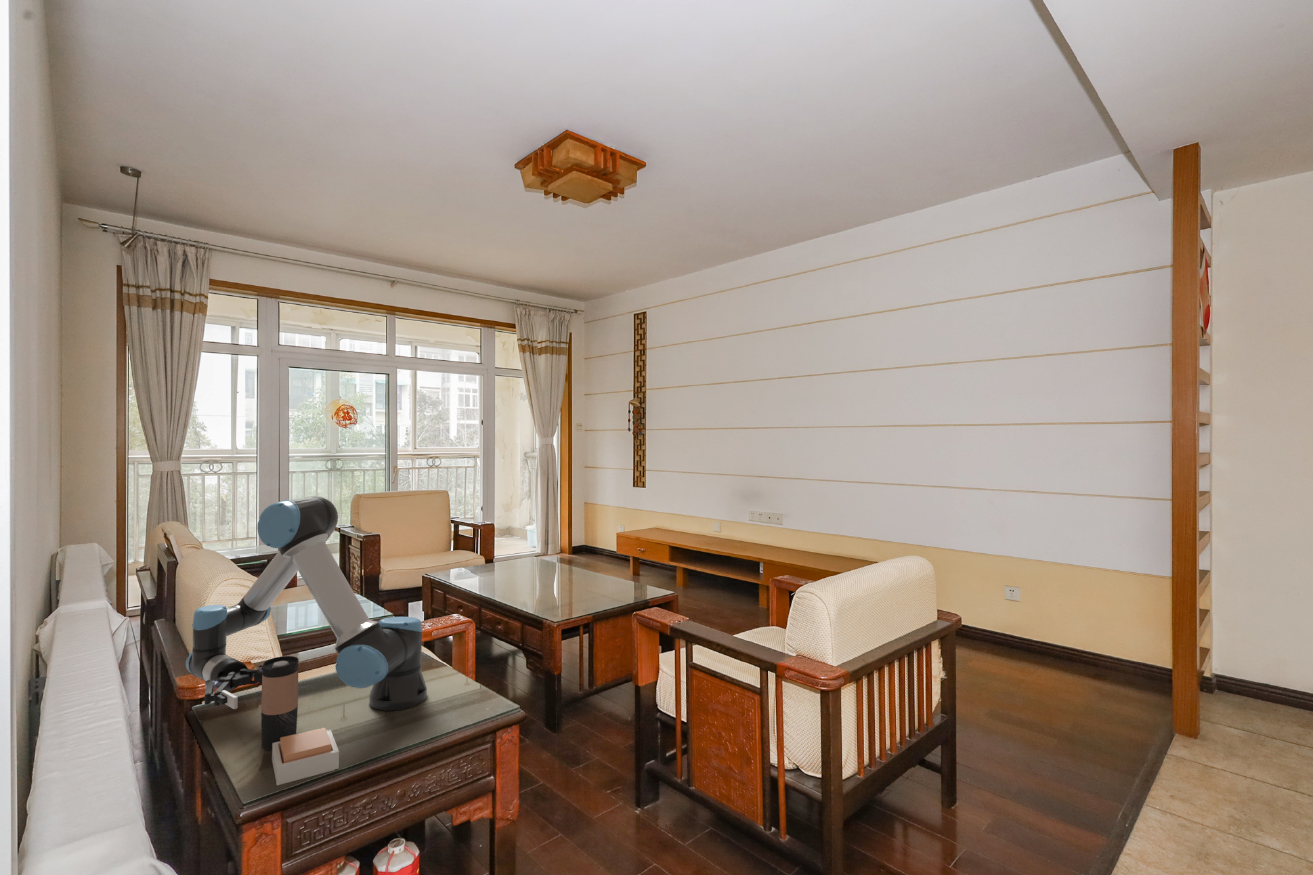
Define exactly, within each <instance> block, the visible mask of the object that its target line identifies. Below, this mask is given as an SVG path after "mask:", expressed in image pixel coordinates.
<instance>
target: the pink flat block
mask: <svg viewBox="0 0 1313 875" xmlns="http://www.w3.org/2000/svg"><path fill="white" fill-rule="evenodd" d="M327 752H331V742H330V739H329V736H328V734H327V729H326V727H321V728H317V729H312V730H309V731H303V732H300V733H296V734H294V735H290V736H285V737H281V738H280V753H281V758H282V762H283V763H287V762H291V761H295V760H299V759H303V758H307V757H311V756H315V755H319V754H323V753H327Z"/></svg>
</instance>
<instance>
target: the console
mask: <svg viewBox="0 0 1313 875" xmlns="http://www.w3.org/2000/svg"><path fill="white" fill-rule="evenodd" d="M326 731H327V734H328V736H329V739H330V742H331V752H327V753H323V754H319V755H315V756H311V757H307V758H303V759H299V760H295V761H291V762H287V763H283V762H282V758H281V753H280V742H275V743H272V750H271V762H272V768H273V772H274V778H275V783H276V784H275V785H276V786H281V785H284V784H288V783H292V782H295V781H298V780H299V781H300V780H303V779H307V778H310V777H313V776H317V775H321V774H325V773H328V772H333V771H336V770H335V769H337V770H339V769H340V768H339V766H340V764H339V763H340V759H339V758H340V751H339V748H338V745H337V743H336V741H335V737H334V736H333V733H332V730H331V729H326Z"/></svg>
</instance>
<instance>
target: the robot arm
mask: <svg viewBox="0 0 1313 875" xmlns="http://www.w3.org/2000/svg"><path fill="white" fill-rule="evenodd" d="M338 522H339V513H338V510H337V508H336V506H335V505H334V503H333V502H332V501H331V500H329V499H327V498H325V497H322V496H317V495H315V496H307V497H302V498H301V497H300V498H294V499H283V500H281V501H279V502H277V501H276V502H273V503H271V504H269V505H268V506H266V508H265V509H264V510H263V511H262V512H261V514H260V515H259V520H258V522H257V527H256V529H257V534H258V537H259V539H260V541H261V542H262V543H263V545H265V546H266V547H270V548H273V549H277V550H278V552H277V553H276V554H275V556H274V557H273V558H272V560H271V561H270V562H269V563H268V565H267V566H266V567H265V569H264V570H263V572H262V573H261V574H260V575H259V576H258V577H257V579H256V580H255V581H254V583H253V584H252V586H251V587H250V588H249V589H248V591H247V592H246V593H245V594H244V596H243V597H242V598H241V600H239V602H238V603H237V604H235V605H231V606H229V607H227V606H225V605H223V604H210V605H209V604H208V605H205V606H200V607H198V608H197V609H196V610H194V611H193V612H194V613H193V619H192V624H191V626H192V650H191V652H190V653H189V654H188V656H187V658H186V660H185V668H186V670H187V671H188V672H189V673H190V674H191V675H192V676H193V677H194V678H199V679H200V680H203V681H205V684H204V685H205V686H204V687H205V689H204V690H205V691H204V705H207V706H208V705H210V704H211V703H212V702H213V703H214V704H213V706H216V707H217V706H220V705H225V706H227V707H229V708H231V709H233V710H236V709H238V704H239V703H238V700H239V698H238V696H237V695H235V694H233V693H231V692H232V691H233V690H235V689H237V688H239V687H240V686H246V685H257V684H258V683H262V673H263V664H260V665H258V668H257V669H252V668H248V667H247V665H246V664H245V663H244V662H242V661H240V660H238V659H236V658H234V657H232V656H230V655H228V654H226V652H227V637H229V636H232V635H233V634H236V633H239V632H241V631H243V630H246V629H248V628H251V627H254V626H258V625H259V624H261V623H263V622H265V621H267V619H268V618H269V617H270V616H271V611H272V608H271V606H272V605H273V603H274V602H275V601H276V600H277V598H278V597H279V596H280V594H281V593H282V592H283V590H284V589H285V588H286V587H287V585H288V584H289V583H290V582H291V580H292V579H293V578H294V576H295V575H296V574H297V573H298V572H299V575H300V577H301V578H302V580H303V581H304V583H305V585H306V586H307V588H308V590H309V591H310V594H311V595H312V597H313V599H314V600H315V602H316V603H317V606H318V607H319V609H320V612H321V613H322V615H323V616H324V618H325V620H326V621H327V623H328V625H329V627H330V628H331V630H332V633H334V635H335V637H336V643H335V645H334V649H335V651H336V653H337V656H336V659H335V662H336V663H335V671H336V674H337V676H338V678H339V679H340V681H341V682H343V683H344V684H345V685H347V686H348V687H351V688H356V689H366V688H369V687H370V688H371V690H370V692H369V698H368V699H369V701H368V704H369V706H370V707H371V708H373V709H376V710H380V711H388V712H389V711H400V710H406V709H409V708H413V707H416V706H417V705H419V704H421V703H422V702H424V701H425V700H426V698H427V695H428V689H427V688H428V687H427V685H426V681H425V679H424V674H423V672H422V648H423V647H422V646H423V645H422V644H423V643H422V642H423V624H422V621H421V619H419V618H417V617H412V616H411V617H410V616H391V617H385V618H382V619H380V620H378V621H377V620H371V619H370V617H368V614H367V613H366V611H365V609H364V608H363V606H362V604H361V602H360V601H359V599H358V598H357V596H356V594H355V592H354V591H353V589H352V587H351V585H350V583H349V581H348V580H347V579H346V578H347V577H346V576H345V575H344V573H343V571H342V570H341V567H340V566H339V564H338V562H337V561H336V559H335V558H334V555H333V554H332V552H331V550H330V549H329V547H328V545H327V544H326V542H327V541H328V540H329V539H330V537H331V535H332V534H333V533H334V531H335V529H336V528H337V525H338ZM216 688H217V689H216Z"/></svg>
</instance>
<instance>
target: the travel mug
mask: <svg viewBox="0 0 1313 875" xmlns="http://www.w3.org/2000/svg"><path fill="white" fill-rule="evenodd" d="M262 665H263V673H262V682H261V702H260V703H261V705H260V706H261V707H260V709H261V710H260V712H261V713H260V716H261V717H260V718H261V719H260V720H261V721H260V722H261V724H260V727H261V729H260V730H261V748H262V749H263V750H264V751H265V750H266V751H272V743H275V742H280V738H281V737H285V736H290V735H294V734H297V729H298V728H297V727H298V726H297V724H298V709H299V708H298V707H299V658H298V656H297V657H296V656H291V655H288V656H287V655H284V656H283V655H282V656H277V657H272V658H270V659H268V660H266V661H264V663H263V664H262Z"/></svg>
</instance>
